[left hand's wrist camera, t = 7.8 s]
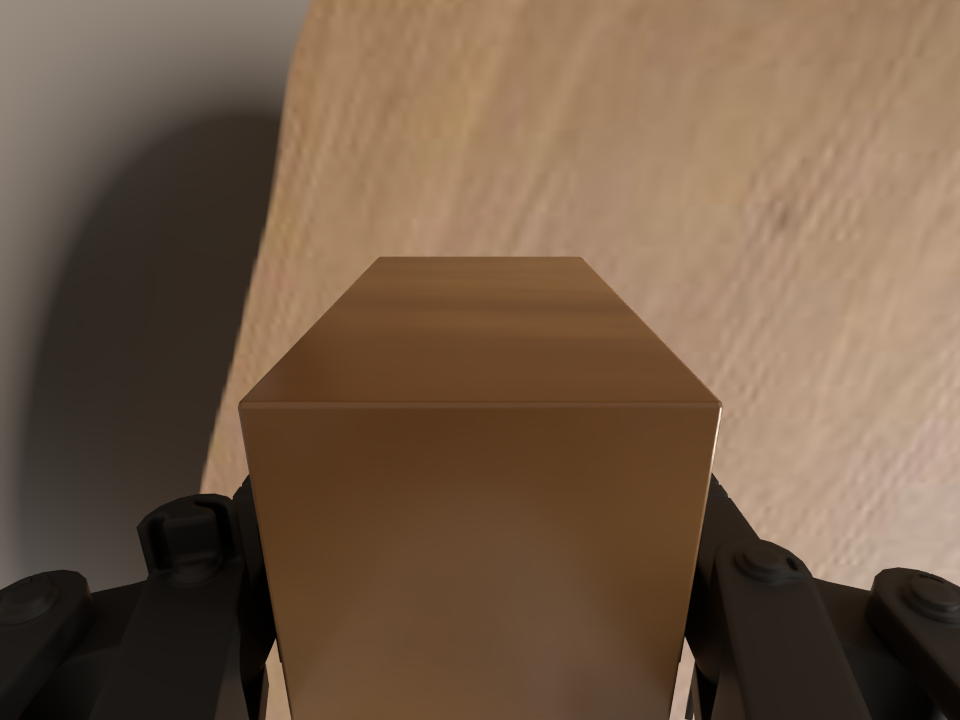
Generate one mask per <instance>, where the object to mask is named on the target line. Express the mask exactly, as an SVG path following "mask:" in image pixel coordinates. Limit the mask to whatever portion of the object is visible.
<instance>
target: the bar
mask: <svg viewBox="0 0 960 720" xmlns="http://www.w3.org/2000/svg"><path fill="white" fill-rule="evenodd" d="M722 409H723V406H722V403H721V401H720V400H719V399H718V398H717V397H716V396H715V395H714V394H713V393H712V392H711V391H710V390H709V389H708V388H707V387H706V386H705V385H704V384H703V383H702V382H701V381H700V380H699V379H698V378H697V377H696V375H695V374H694V373H693V372H692V371H691V370H690V369H689V368H688V367H687V366H686V365H685V364H684V363H683V362H682V361H681V360H680V359H679V358H678V357H677V356H676V355H675V354H674V353H673V352H672V351H671V350H670V349H669V348H668V346H667V345H666V344H665V343H664V342H663V341H662V340H661V339H660V338H659V337H658V336H657V335H656V334H655V333H654V332H653V331H652V330H651V329H650V328H649V327H648V326H647V325H646V324H645V323H644V322H643V321H642V320H641V319H640V317H639V316H638V315H637V314H636V313H635V312H634V311H633V310H632V309H631V308H630V307H629V306H628V305H627V304H626V303H625V302H624V301H623V300H622V299H621V298H620V297H619V296H618V295H617V294H616V293H615V292H614V291H613V290H612V289H611V287H610V286H609V285H608V284H607V283H606V282H605V281H604V280H603V279H602V278H601V277H600V276H599V275H598V274H597V273H596V272H595V271H594V270H593V269H592V268H591V267H590V266H589V265H588V264H587V263H586V262H585V261H584V260H583V258H581V257H379V258H378V259H377V260H376V261H375V262H374V263H373V264H372V265H371V266H370V267H369V268H368V269H367V270H366V271H365V272H364V273H363V274H362V275H361V276H360V277H359V279H358V280H357V281H356V282H355V283H354V284H353V285H352V286H351V287H350V288H349V289H348V290H347V291H346V292H345V293H344V294H343V295H342V296H341V297H340V298H339V299H338V300H337V301H336V302H335V303H334V305H333V306H332V307H331V308H330V309H329V310H328V311H327V312H326V313H325V314H324V315H323V316H322V317H321V318H320V319H319V320H318V321H317V322H316V323H315V324H314V325H313V326H312V327H311V328H310V329H309V331H308V332H307V333H306V334H305V335H304V336H303V337H302V338H301V339H300V340H299V341H298V342H297V343H296V344H295V345H294V346H293V347H292V348H291V349H290V350H289V351H288V352H287V353H286V354H285V355H284V356H283V358H282V359H281V360H280V361H279V362H278V363H277V364H276V365H275V366H274V367H273V368H272V369H271V370H270V371H269V372H268V373H267V374H266V375H265V376H264V377H263V378H262V379H261V380H260V381H259V382H258V384H257V385H256V386H255V387H254V388H253V389H252V390H251V391H250V392H249V393H248V394H247V395H246V396H245V397H244V398H243V399H242V400H241V401H240V402H239V406H238V410H239V416H240V422H241V428H242V434H243V439H244V445H245V451H246V457H247V463H248V469H249V475H250V480H251V486H252V492H253V498H254V504H255V510H256V515H257V521H258V527H259V533H260V539H261V545H262V551H263V556H264V562H265V568H266V574H267V580H268V586H269V592H270V597H271V603H272V609H273V615H274V621H275V627H276V633H277V638H278V644H279V650H280V656H281V662H282V668H283V673H284V679H285V685H286V691H287V697H288V703H289V709H290V714H291V720H669V718H670V712H671V706H672V701H673V695H674V689H675V683H676V677H677V671H678V666H679V660H680V654H681V648H682V642H683V637H684V631H685V625H686V619H687V613H688V607H689V602H690V596H691V590H692V584H693V578H694V572H695V567H696V561H697V555H698V549H699V543H700V537H701V532H702V526H703V520H704V514H705V508H706V503H707V497H708V491H709V485H710V479H711V473H712V468H713V462H714V456H715V450H716V444H717V438H718V433H719V427H720V421H721V415H722Z"/></svg>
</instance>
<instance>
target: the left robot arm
mask: <svg viewBox="0 0 960 720" xmlns="http://www.w3.org/2000/svg"><path fill="white" fill-rule="evenodd" d="M137 531H138V535H139V538H140V542H141V546H142V550H143V554H144V557H145V561H146V565H147V569H148V573H149V575H148V578H147V580H145V581H142V582H138V583H135V584H130V585H126V586H121V587H117V588H112V589H108V590H103V591H99V592H94V593H91V592H90V590H89V586H88V583H87V580H86V578H85V577H83V576H82V575H81V574H80V573H79V572H75V571H68V570H57V571H49V572H43V573H39V574H36V575H33V576H29V577H26V578H24V579H21V580H19V581H17V582H15V583H13V584H11V585H9V586H7V587H5V588H3V589H1V590H0V720H265V718H266V708H267V698H268V689H269V682H268V675H267V669H266V664H265V662H266V660H267V658H268V655H269V653H270V650H271V648H272V646H273V643H274V641H275V638H276V641H277V647H278V653H279V659H280V662H281V656H280V650H279V644H278V638H277V633H276V627H275V621H274V615H273V609H272V603H271V597H270V592H269V586H268V580H267V574H266V568H265V562H264V556H263V551H262V545H261V539H260V533H259V527H258V521H257V515H256V510H255V504H254V498H253V492H252V486H251V480H250V475H248V476H247V478H246V479H245V480H244V482H243V483H242V487H239V489H238V490H237V491H236V493H235V494H234V496H233V500H231V499H230V498H229V497H227V496H223V495H218V494H196V495H192V496H187V497H183V498H179V499H176V500H174V501H172V502H169V503H167V504H164V505H162V506H160V507H159V508H157V509H156V510H154V511H153V512H151V513H150V514H148V515H147V516H145V518H144V519H143V520H142V521H141V523H140V524H139V525H138V526H137ZM685 637H686V640H687V642H688V644H689V647H690V649H691V651H692V654H693V656H694V659H695V664H694V669H693V674H692V680H691V685H690V691H689V696H688V701H687V707H686V714H685V719H687V720H692V719H693V713H694V716H695V720H960V587H959V586H957V585H955V584H953V583H951V582H949V581H947V580H945V579H943V578H941V577H939V576H936V575H933V574H929V573H927V572H923V571H920V570H914V569H907V568H899V567H898V568H891V569H884V570H882V571H881V572H880V573H879V574H877V575H876V576H875V578H874V581H873V585H872V588H871V591H868V590H863V589H859V588H854V587H850V586H845V585H841V584H836V583H831V582H827V581H824V580H820V579H817V578H813V577H812V574H811V573H810V571H809V570H808V568H807V567H806V565H805V564H804V563H803V561H802V560H800V559H799V558H798V557H796V556H795V555H794V554H793V553H791V552H790V551H789V550H787V549H785V548H783V547H780V546H778V545H776V544H774V543H772V542H769V541H765V540H761V539H760V538H759V537H758V536H757V534H756V533H755V532H754V530H753V529H752V527H751V526H750V525H749V523H748V522H747V520H746V519H745V518H744V516H743V515H742V514H741V512H740V511H739V509H738V508H737V507H736V505H735V504H734V502H733V501H732V500H731V498H728V494H727V493H726V491H725V490H724V489H723V487H722V486H721V485H719V482H718V480H717V479H716V478H715V476H714V475H713V473H711V479H710V485H709V491H708V497H707V503H706V508H705V514H704V520H703V526H702V532H701V537H700V543H699V549H698V555H697V561H696V567H695V572H694V578H693V584H692V590H691V596H690V602H689V607H688V613H687V619H686V625H685V631H684V637H683V642H682V648H681V654H680V660H679V662H680V661H681V655H682V649H683V644H684V638H685Z"/></svg>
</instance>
